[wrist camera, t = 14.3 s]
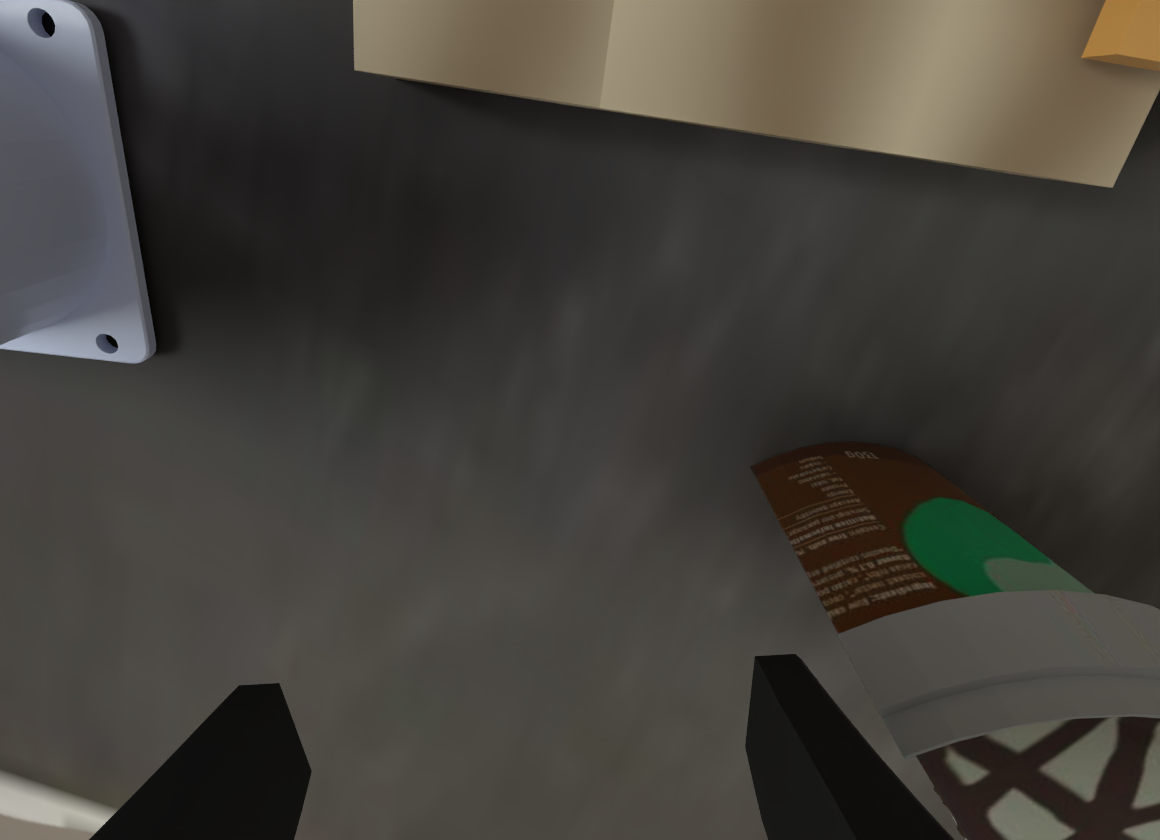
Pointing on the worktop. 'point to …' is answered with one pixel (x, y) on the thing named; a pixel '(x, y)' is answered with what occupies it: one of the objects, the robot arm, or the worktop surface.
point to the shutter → (1127, 34)
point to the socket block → (797, 71)
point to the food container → (979, 647)
